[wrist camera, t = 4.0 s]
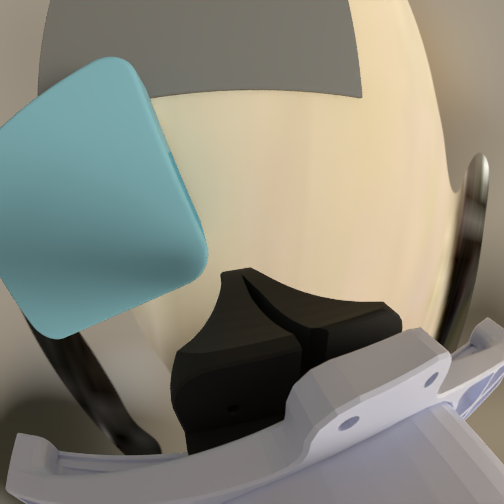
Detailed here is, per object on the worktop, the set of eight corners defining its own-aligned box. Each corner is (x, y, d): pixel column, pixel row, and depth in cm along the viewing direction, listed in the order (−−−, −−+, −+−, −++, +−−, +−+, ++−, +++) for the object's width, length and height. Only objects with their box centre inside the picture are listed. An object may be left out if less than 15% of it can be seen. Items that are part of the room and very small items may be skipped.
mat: (360, 98, 16) (362, 97, 16) (39, 127, 12) (37, 127, 12) (335, -38, 11) (337, -39, 11) (60, -28, 7) (59, -30, 6)
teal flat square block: (138, 68, 12) (-7, 164, 11) (125, 43, 8) (-46, 175, 7) (209, 241, 17) (66, 307, 16) (219, 272, 13) (47, 346, 12)
